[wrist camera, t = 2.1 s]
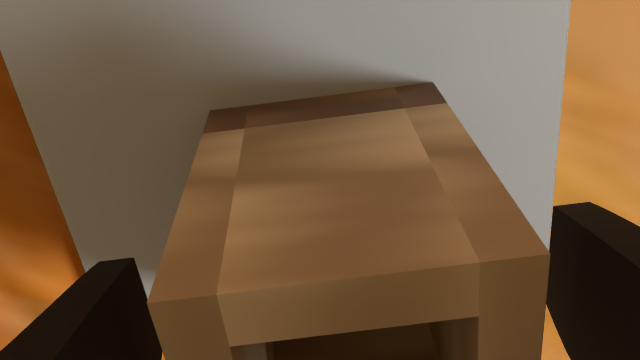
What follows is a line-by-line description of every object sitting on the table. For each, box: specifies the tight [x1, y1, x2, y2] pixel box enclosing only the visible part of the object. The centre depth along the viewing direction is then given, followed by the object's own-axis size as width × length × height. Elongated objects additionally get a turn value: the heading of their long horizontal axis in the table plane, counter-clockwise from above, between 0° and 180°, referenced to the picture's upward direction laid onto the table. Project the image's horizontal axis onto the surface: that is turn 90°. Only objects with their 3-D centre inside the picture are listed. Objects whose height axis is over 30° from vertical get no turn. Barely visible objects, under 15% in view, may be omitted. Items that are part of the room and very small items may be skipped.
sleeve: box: [147, 82, 550, 360], centre depth 10 cm, size 5×5×6 cm
